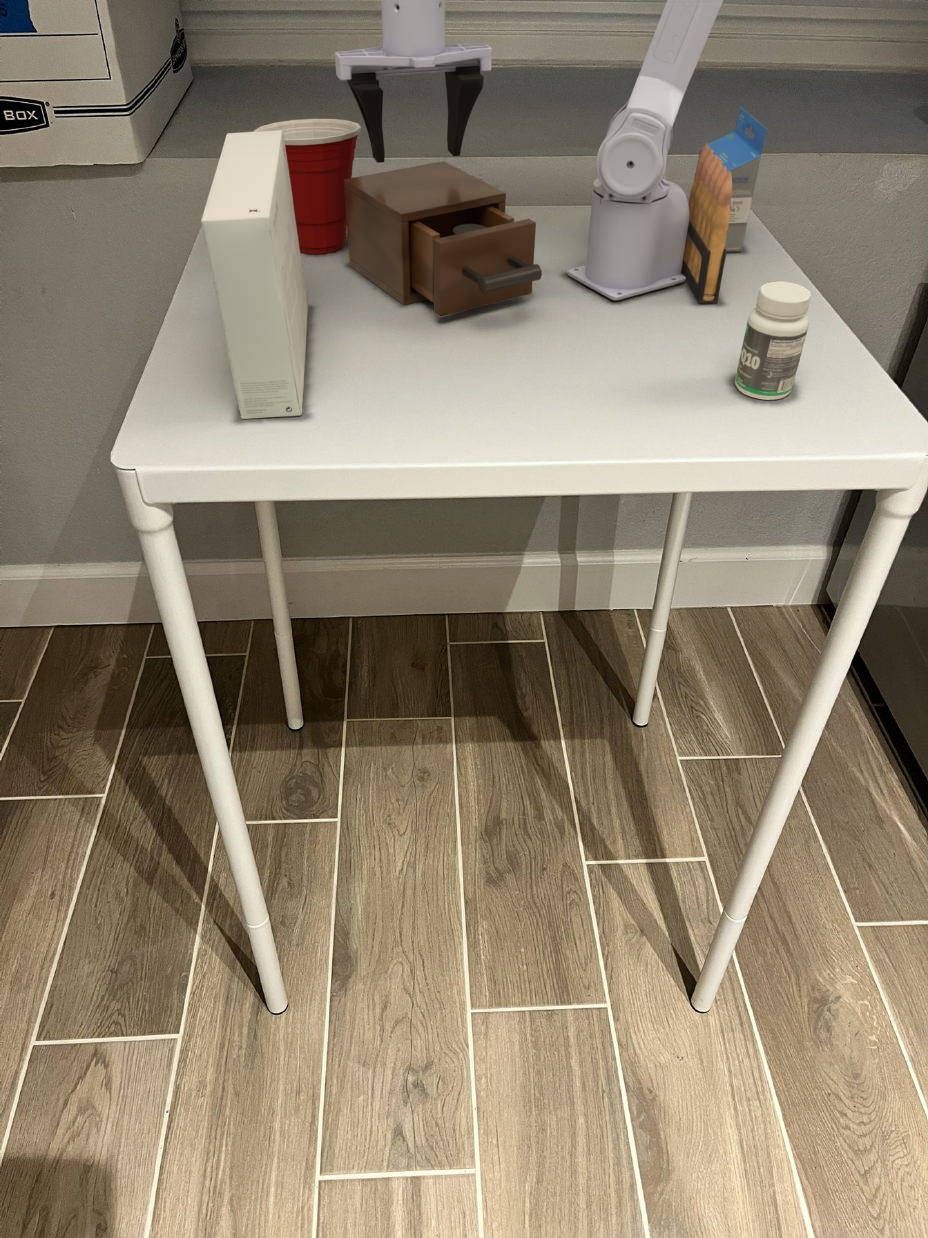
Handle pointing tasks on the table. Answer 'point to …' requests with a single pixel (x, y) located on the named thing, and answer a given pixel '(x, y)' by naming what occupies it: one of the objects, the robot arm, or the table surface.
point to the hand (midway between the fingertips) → (416, 156)
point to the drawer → (472, 259)
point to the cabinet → (404, 217)
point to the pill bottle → (773, 341)
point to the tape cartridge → (740, 172)
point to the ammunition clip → (707, 227)
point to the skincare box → (258, 273)
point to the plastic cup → (319, 178)
